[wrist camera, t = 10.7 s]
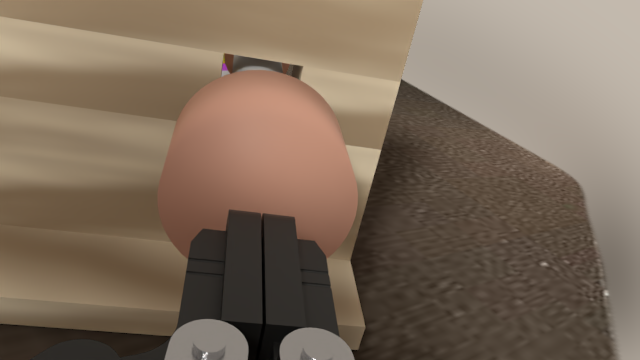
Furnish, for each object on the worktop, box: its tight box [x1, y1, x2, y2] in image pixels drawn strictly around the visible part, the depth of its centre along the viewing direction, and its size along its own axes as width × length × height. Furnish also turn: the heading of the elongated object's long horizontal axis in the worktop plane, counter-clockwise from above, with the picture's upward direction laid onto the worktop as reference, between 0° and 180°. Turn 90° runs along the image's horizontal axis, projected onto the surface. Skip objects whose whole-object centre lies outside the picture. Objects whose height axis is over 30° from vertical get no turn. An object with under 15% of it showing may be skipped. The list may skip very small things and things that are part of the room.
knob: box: [157, 53, 358, 259], centre depth 20 cm, size 13×5×5 cm, turn 6°
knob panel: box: [0, 0, 423, 350], centre depth 20 cm, size 7×24×13 cm, turn 96°
